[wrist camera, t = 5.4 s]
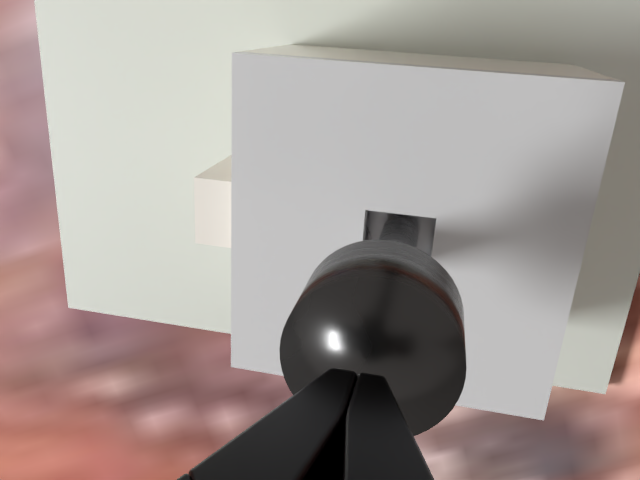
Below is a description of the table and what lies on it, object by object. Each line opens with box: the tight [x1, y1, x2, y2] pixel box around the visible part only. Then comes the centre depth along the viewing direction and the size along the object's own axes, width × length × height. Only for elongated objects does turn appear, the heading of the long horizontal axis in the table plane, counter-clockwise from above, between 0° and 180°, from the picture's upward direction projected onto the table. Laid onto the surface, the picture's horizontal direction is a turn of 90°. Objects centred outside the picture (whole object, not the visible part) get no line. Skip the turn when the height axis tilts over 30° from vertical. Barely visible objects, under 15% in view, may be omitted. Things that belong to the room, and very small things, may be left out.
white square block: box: [194, 44, 625, 420], centre depth 18 cm, size 10×9×6 cm
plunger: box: [279, 210, 467, 436], centre depth 13 cm, size 7×7×7 cm
